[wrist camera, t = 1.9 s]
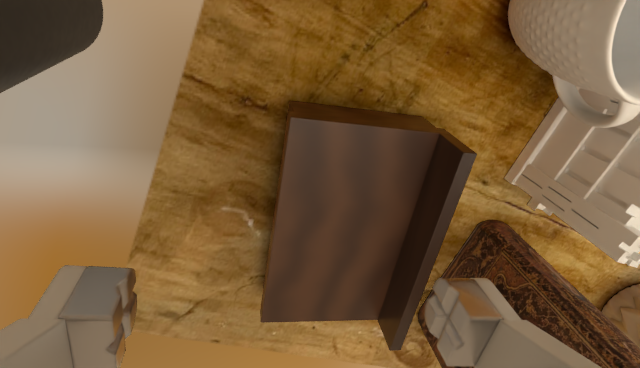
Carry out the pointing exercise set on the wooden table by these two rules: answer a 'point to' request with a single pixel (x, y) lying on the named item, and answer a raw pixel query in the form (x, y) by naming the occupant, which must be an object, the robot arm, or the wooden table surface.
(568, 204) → the castle model
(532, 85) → the wooden table surface
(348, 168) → the shelf
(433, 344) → the book
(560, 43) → the mug
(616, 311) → the vase
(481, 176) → the wooden table surface
